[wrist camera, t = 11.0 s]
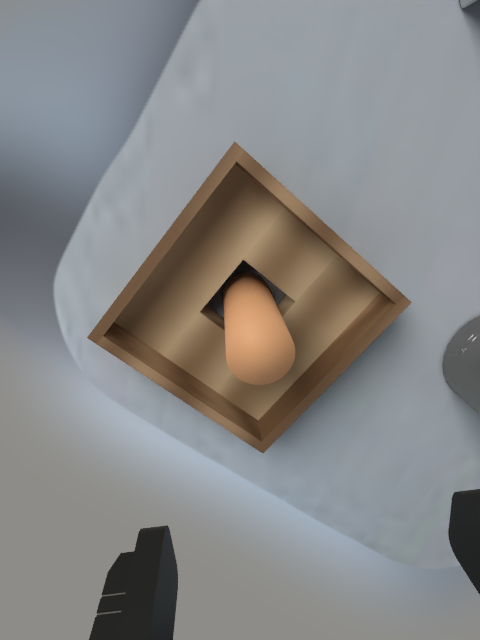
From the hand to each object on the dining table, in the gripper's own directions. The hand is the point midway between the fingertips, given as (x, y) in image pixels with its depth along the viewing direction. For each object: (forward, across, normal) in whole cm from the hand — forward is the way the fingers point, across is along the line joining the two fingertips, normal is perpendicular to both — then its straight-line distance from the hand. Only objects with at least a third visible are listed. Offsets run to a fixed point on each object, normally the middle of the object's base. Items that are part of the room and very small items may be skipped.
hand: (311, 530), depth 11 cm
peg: (+24, 0, 0) cm, 24 cm away
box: (+24, 0, 0) cm, 24 cm away
